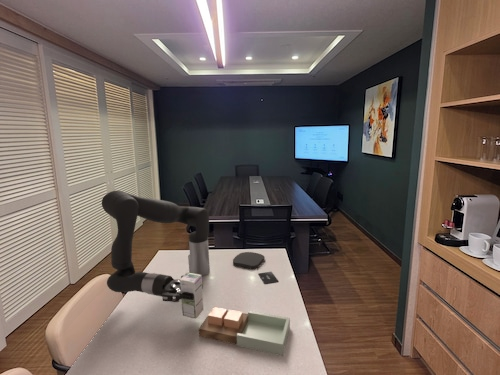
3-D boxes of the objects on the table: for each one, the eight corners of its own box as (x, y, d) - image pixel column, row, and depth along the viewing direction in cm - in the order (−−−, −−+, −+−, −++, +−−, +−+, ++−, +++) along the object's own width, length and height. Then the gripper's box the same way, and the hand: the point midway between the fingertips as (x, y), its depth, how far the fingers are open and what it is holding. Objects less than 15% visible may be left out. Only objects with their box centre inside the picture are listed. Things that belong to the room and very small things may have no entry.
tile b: (224, 326, 97) (224, 318, 96) (229, 317, 101) (229, 309, 101) (238, 329, 95) (237, 321, 94) (242, 319, 100) (242, 312, 99)
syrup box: (204, 309, 104) (202, 273, 102) (195, 319, 99) (193, 282, 96) (190, 306, 106) (188, 271, 103) (181, 316, 101) (179, 279, 98)
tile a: (208, 323, 98) (207, 315, 98) (214, 314, 103) (214, 306, 102) (221, 325, 97) (221, 317, 96) (227, 316, 101) (226, 309, 101)
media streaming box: (255, 271, 141) (255, 265, 141) (230, 266, 147) (230, 260, 147) (266, 259, 154) (266, 254, 153) (242, 254, 160) (242, 250, 160)
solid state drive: (264, 285, 128) (264, 283, 128) (258, 274, 138) (258, 273, 138) (278, 282, 130) (278, 281, 130) (271, 272, 139) (271, 271, 139)
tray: (237, 345, 92) (236, 335, 91) (249, 320, 104) (248, 310, 103) (282, 355, 87) (282, 344, 86) (289, 328, 99) (289, 318, 99)
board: (199, 336, 96) (198, 328, 96) (213, 314, 107) (213, 307, 107) (237, 344, 92) (237, 336, 91) (248, 321, 103) (248, 314, 103)
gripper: (144, 285, 98) (187, 293, 93) (167, 266, 111) (206, 272, 106) (146, 304, 99) (188, 313, 94) (169, 283, 113) (207, 290, 108)
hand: (197, 291), depth 100 cm, fingers closed on syrup box, 6 cm apart
